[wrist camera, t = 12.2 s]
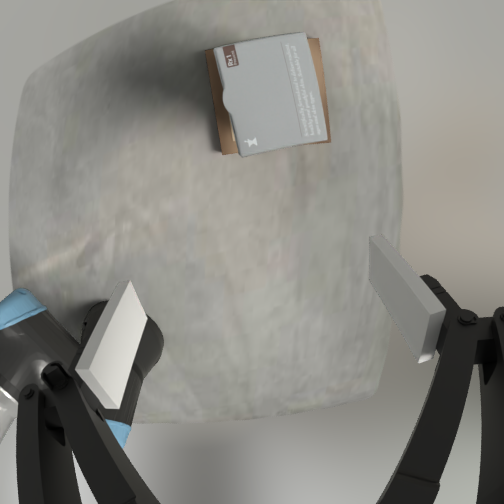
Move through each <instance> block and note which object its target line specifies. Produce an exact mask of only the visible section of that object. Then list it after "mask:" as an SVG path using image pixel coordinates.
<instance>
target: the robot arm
mask: <svg viewBox="0 0 504 504" xmlns="http://www.w3.org/2000/svg"><path fill="white" fill-rule="evenodd" d="M369 280H370V282H371V284H372V285H373V287H374V288H375V290H376V292H377V293H378V295H379V297H380V298H381V300H382V301H383V303H384V305H385V306H386V308H387V310H388V311H389V313H390V315H391V316H392V318H393V320H394V321H395V323H396V325H397V327H398V328H399V330H400V331H401V333H402V335H403V337H404V339H405V341H406V342H407V344H408V346H409V348H410V349H411V351H412V353H413V355H414V357H415V359H416V360H417V362H418V363H421V362H424V361H427V360H430V359H432V358H433V356H434V354H435V350H436V349H437V351H438V353H439V354H440V357H439V360H438V363H437V366H436V369H435V373H434V376H433V379H432V382H431V385H430V388H429V391H428V394H427V397H426V400H425V402H424V405H423V407H422V410H421V413H420V415H419V418H418V420H417V423H416V426H415V427H414V430H413V432H412V435H411V437H410V439H409V441H408V444H407V446H406V448H405V450H404V452H403V454H402V456H401V459H400V461H399V463H398V465H397V467H396V469H395V471H394V473H393V475H392V476H391V478H390V481H389V482H388V484H387V486H386V488H385V489H384V491H383V493H382V495H381V496H380V498H379V500H378V501H377V503H376V504H433V503H434V501H435V498H436V496H437V494H438V491H439V487H440V483H439V481H440V478H441V475H442V473H443V470H444V468H445V465H446V462H447V460H448V457H449V454H450V451H451V449H452V445H453V443H454V440H455V437H456V434H457V430H458V427H459V423H460V420H461V417H462V413H463V409H464V405H465V401H466V397H467V393H468V389H469V384H470V380H471V375H472V370H473V365H474V364H478V367H479V377H480V392H481V417H482V437H481V438H482V440H481V462H480V475H479V485H478V495H477V502H476V504H504V307H499V308H497V309H496V310H495V312H494V315H493V317H484V318H478V316H477V315H476V314H475V313H474V312H472V311H470V310H466V309H461V308H460V307H459V306H458V305H457V303H456V302H455V301H454V300H453V298H452V297H451V296H450V295H449V294H448V293H447V292H446V290H445V289H444V288H443V287H442V286H441V285H440V283H439V282H438V281H437V280H436V279H434V278H433V277H431V276H429V275H423V276H419V275H418V274H417V273H416V272H415V271H414V270H413V268H412V267H411V266H410V265H409V264H408V263H407V261H406V260H405V259H404V258H403V257H402V256H401V255H400V253H399V252H398V251H397V250H396V249H395V248H394V247H393V246H392V245H391V243H390V242H389V241H388V240H387V239H386V238H385V237H384V236H383V235H382V234H381V235H376V236H371V237H369ZM163 346H164V340H163V335H162V333H161V331H160V329H159V327H158V326H157V324H156V323H155V322H154V321H153V320H152V319H151V318H150V317H149V316H148V315H146V314H145V312H144V310H143V308H142V305H141V303H140V301H139V299H138V297H137V294H136V292H135V290H134V287H133V285H132V283H131V281H130V280H129V281H123V282H119V283H118V285H117V286H116V288H115V290H114V292H113V294H112V296H111V298H110V299H109V301H108V302H102V303H99V304H97V305H95V306H94V307H92V308H91V310H90V311H89V313H88V314H87V316H86V318H85V320H84V323H83V328H82V336H81V344H79V343H78V342H77V341H76V340H75V339H74V338H73V337H72V336H71V335H70V334H69V333H68V332H67V331H66V330H65V329H64V328H63V327H62V326H61V325H60V324H59V322H58V321H57V320H56V319H55V318H54V317H53V316H52V315H51V314H50V313H49V311H48V310H47V308H46V306H43V305H42V304H41V303H40V302H39V301H38V300H37V299H36V297H35V296H34V295H33V294H32V293H31V292H30V291H29V290H27V289H25V288H18V289H16V290H14V291H13V292H12V293H11V294H9V295H8V296H7V297H6V298H5V299H4V300H2V301H1V302H0V443H1V441H2V440H3V438H4V436H5V435H6V433H7V431H8V429H9V428H10V426H11V424H12V423H13V421H14V419H15V418H17V434H16V463H17V482H18V483H17V484H18V497H19V504H82V502H81V497H80V493H79V489H78V483H77V479H76V473H75V467H74V462H73V455H72V451H73V453H74V455H75V458H76V460H77V462H78V464H79V467H80V469H81V471H82V473H83V475H84V477H85V479H86V481H87V483H88V485H89V487H90V489H91V491H92V493H93V495H94V497H95V499H96V501H97V502H98V504H160V503H159V501H158V500H157V499H156V497H155V496H154V495H153V493H152V492H151V491H150V489H149V488H148V486H147V485H146V484H145V482H144V481H143V479H142V478H141V477H140V475H139V474H138V472H137V471H136V469H135V468H134V466H133V465H132V464H131V462H130V460H129V459H128V457H127V456H126V454H125V452H124V451H123V447H124V446H125V443H126V440H127V437H128V435H129V432H130V431H131V425H132V421H133V417H134V413H135V409H136V405H137V401H138V397H139V394H140V390H141V386H142V383H143V380H144V378H145V377H146V375H147V374H148V373H149V372H150V370H151V369H152V367H153V366H154V365H155V364H156V363H157V362H158V361H159V359H160V357H161V354H162V350H163Z"/></svg>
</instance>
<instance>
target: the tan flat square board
mask: <svg viewBox="0 0 504 504" xmlns="http://www.w3.org/2000/svg"><path fill="white" fill-rule="evenodd" d="M307 40H308V44H309V48H310V52H311V56H312V60H313V64H314V68H315V72H316V77H317V81H318V86H319V91H320V96H321V102H322V107H323V112H324V118H325V124H326V131H327V138H328V139H327V140H325V141H319V142H314V143H309V144H318V143H330V142H331V138H330V126H329V116H328V106H327V97H326V88H325V80H324V72H323V64H322V57H321V50H320V44H319V38H311V39H307ZM213 50H214V49H210V50H205V53H206V59H207V66H208V72H209V78H210V84H211V90H212V96H213V102H214V108H215V114H216V120H217V126H218V132H219V138H220V144H221V150H222V155H226V154H233V153H238V149H237V145H236V141H235V137H234V133H233V129H232V124H231V120H230V116H229V112H228V111H227V110H226V108H225V106H224V103H223V91H224V90H223V86H222V82H221V79H220V75H219V71H218V67H217V63H216V59H215V55H214V51H213ZM304 145H307V144H304Z"/></svg>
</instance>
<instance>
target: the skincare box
mask: <svg viewBox="0 0 504 504" xmlns="http://www.w3.org/2000/svg"><path fill="white" fill-rule="evenodd" d="M213 51H214V55H215V59H216V63H217V67H218V71H219V75H220V79H221V82H222V86H223V90H224V91H223V103H224V106H225V108H226V110H227V111H228V112H229V116H230V120H231V124H232V129H233V133H234V137H235V141H236V145H237V149H238V153H239V155H240V156H241V157H247V156H251V155H256V154H261V153H265V152H270V151H275V150H279V149H284V148H289V147H294V146H299V145H304V144H309V143H314V142H319V141H325V140H327V139H328V138H327V131H326V124H325V118H324V112H323V107H322V102H321V96H320V91H319V86H318V81H317V77H316V72H315V68H314V64H313V60H312V56H311V52H310V48H309V44H308V40H307V37H306V34H305V32H298V33H289V34H282V35H275V36H269V37H263V38H257V39H252V40H246V41H241V42H237V43H232V44H228V45H224V46H220V47H216V48H214V50H213Z"/></svg>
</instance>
